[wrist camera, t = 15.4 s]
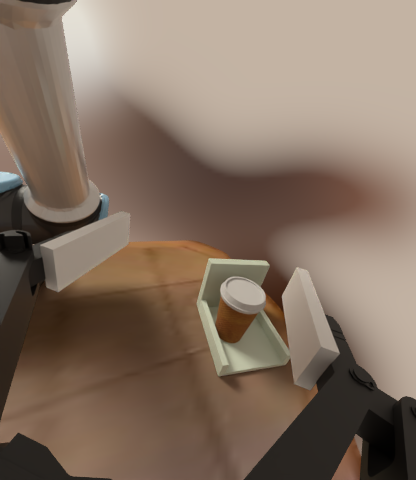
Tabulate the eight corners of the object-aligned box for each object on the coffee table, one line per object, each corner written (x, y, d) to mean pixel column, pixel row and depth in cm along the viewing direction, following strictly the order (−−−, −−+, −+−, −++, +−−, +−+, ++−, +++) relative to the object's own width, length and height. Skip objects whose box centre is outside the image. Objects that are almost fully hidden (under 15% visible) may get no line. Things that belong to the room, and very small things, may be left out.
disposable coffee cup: (200, 335, 43) (215, 291, 38) (216, 308, 51) (230, 269, 46) (242, 359, 41) (264, 315, 36) (252, 326, 49) (270, 287, 44)
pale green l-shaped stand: (196, 303, 52) (208, 258, 46) (248, 301, 58) (265, 260, 52) (218, 376, 37) (240, 323, 31) (285, 364, 43) (316, 317, 37)
